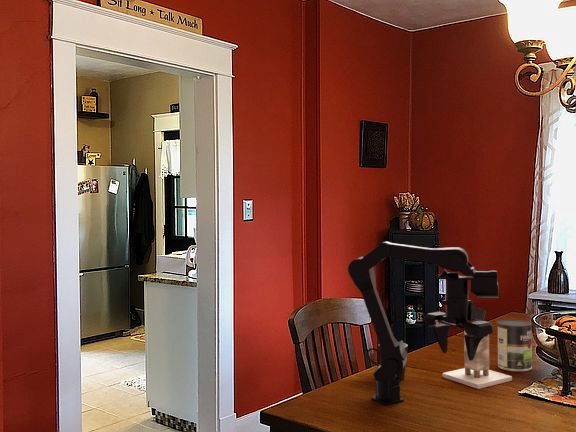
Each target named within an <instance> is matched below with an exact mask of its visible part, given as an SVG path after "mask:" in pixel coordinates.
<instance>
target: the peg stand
mask: <svg viewBox="0 0 576 432" xmlns="http://www.w3.org/2000/svg"><path fill="white" fill-rule="evenodd" d="M442 378H444V379H447V380H450V381H453V382H456V383H460V384H463V385H465V386H469V387H470V388H471V387H472V388H474V389H477V390H480V389H484V388H486V387H487V388H488V387H492V386H496V385H500V384H504V383H507V382H511V381H513V376H512V375H508V374H505V373H502V372H500V371H496V370H495V371H494V370H492V369H490V368H489V369H486V370H481V371H474V370H471V369H468V368H464V367H463V368H459V369H454V370H449V371H446V372H445V371H444V372H443V373H442Z"/></svg>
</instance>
